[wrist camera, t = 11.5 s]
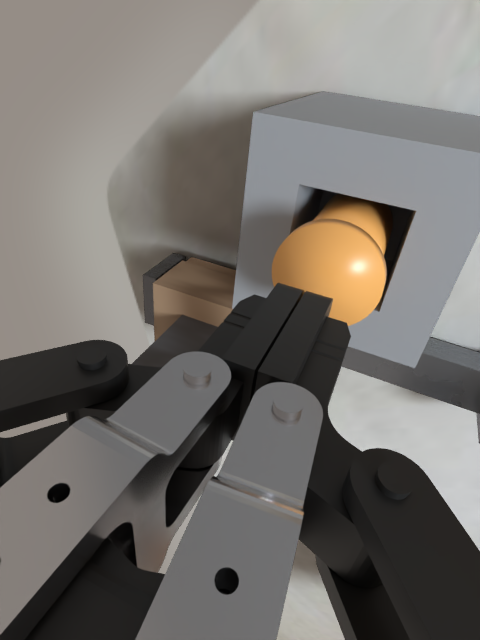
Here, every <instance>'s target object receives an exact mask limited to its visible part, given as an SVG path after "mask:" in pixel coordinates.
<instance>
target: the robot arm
mask: <svg viewBox="0 0 480 640" xmlns="http://www.w3.org/2000/svg"><path fill="white" fill-rule="evenodd" d="M332 302H333V298H329V297H326V296H322V295H319V294H316V293H312V292H309V291H306V292H305V291H304V290H302V289H298V288H295V287H292V286H288V285H285V284H281V283H277V284H276V286H275V287H274V288H273V290H272V291H271V292H270V294H269V295H268V296H267V298H265V297H261V296H258V295H255V294H254V295H252V296H250V297H248V298H245V299H243V300H241V301H239V303H238V304H237V305H236V306H235V307H234V309H233V310H232V311H231V313H230V314H229V315H228V316H227V317H226V318H225V319H224V322H222V323H221V324H220V325H219V327H218V328H217V329H216V330H215V331H214V333H213V334H212V335H211V336H210V337H209V338H208V340H207V341H206V342H205V343H204V344H203V346H202V347H201V348H200V349H199V350H198V352H187V353H183V354H180V355H178V356H176V357H174V358H173V359H171V360H170V361H169V362H168V363H167V364H166V365H165V366H164V367H150V366H141V365H132V364H128V360H127V354H126V352H125V351H124V349H123V348H122V347H121V346H119V345H118V344H115V343H113V342H110V341H105V340H90V341H84V342H80V343H76V344H71V345H67V346H62V347H58V348H53V349H49V350H44V351H40V352H36V353H31V354H27V355H22V356H18V357H13V358H9V359H4V360H1V361H0V432H3V431H6V430H10V429H13V428H16V427H20V426H23V425H26V424H30V423H33V422H37V421H40V420H44V419H47V418H50V417H53V416H57V415H60V414H64V413H66V416H67V421H65V422H61V423H58V424H54V425H51V426H48V427H44V428H41V429H38V430H34V431H31V432H28V433H24V434H21V435H18V436H14V437H11V438H0V640H276V639H277V635H278V630H279V625H280V621H281V616H282V612H283V607H284V603H285V598H286V594H287V589H288V584H289V580H290V575H291V571H292V566H293V562H294V557H295V553H296V548H297V543H298V539H299V540H300V541H301V542H302V543H304V544H305V545H306V546H307V547H308V548H309V549H310V550H311V551H312V552H313V553H314V554H316V563H317V567H318V570H319V572H320V575H321V578H322V580H323V583H324V586H325V588H326V591H327V593H328V596H329V599H330V601H331V604H332V607H333V609H334V612H335V614H336V617H337V620H338V622H339V625H340V627H341V630H342V633H343V635H344V638H345V640H480V551H479V550H478V548H477V547H476V545H475V544H474V542H473V541H472V539H471V538H470V537H469V535H468V534H467V532H466V531H465V529H464V528H463V526H462V525H461V524H460V522H459V521H458V519H457V518H456V516H455V515H454V514H453V512H452V511H451V509H450V508H449V506H448V505H447V503H446V502H445V501H444V499H443V498H442V496H441V495H440V493H439V492H438V490H437V489H436V488H435V486H434V485H433V483H432V482H431V480H430V479H429V477H428V476H427V475H426V474H425V472H424V471H423V470H422V469H421V468H420V467H419V466H418V465H417V464H416V463H414V462H413V461H412V460H411V459H409V458H407V457H406V456H404V455H402V454H400V453H398V452H395V451H392V450H388V449H381V448H375V449H369V450H365V451H363V452H362V451H360V450H359V449H357V448H356V447H354V446H353V445H352V444H350V443H349V442H348V441H346V440H345V439H344V438H343V437H342V436H341V435H340V434H339V433H338V432H337V431H336V430H335V428H334V427H333V425H332V423H331V421H330V419H329V416H328V405H329V402H330V399H331V396H332V393H333V390H334V387H335V384H336V381H337V378H338V375H339V372H340V369H341V366H342V362H343V359H344V356H345V353H346V350H347V347H348V344H349V341H350V338H351V335H350V332H349V328H348V325H347V323H346V322H343V321H340V320H336V319H333V318H330V317H329V314H330V310H331V307H332ZM231 440H234V441H233V443H232V445H231V448H230V450H229V452H228V455H227V457H226V459H225V461H224V464H223V466H222V468H221V470H220V472H219V474H218V476H217V477H215V476H214V474H215V473H216V471H217V470H218V468H219V466H220V464H221V459H222V455H223V453H224V452H225V450H226V448H227V446H228V445H229V443H230V441H231ZM201 494H202V495H201ZM200 496H201V497H200ZM199 497H200V500H199V502H198V504H197V506H196V509H195V511H194V513H193V515H192V517H191V519H190V521H189V524H188V526H187V528H186V530H185V533H184V534H183V537H182V539H181V541H180V543H179V545H178V548H177V550H176V552H175V554H174V556H173V558H172V561H171V563H170V565H169V567H168V569H167V572H166V574H161V573H158V572H159V570H160V568H161V566H162V564H163V561H164V559H165V556H166V553H167V550H168V547H169V545H170V543H171V541H172V538H173V537H174V535H175V533H176V532H177V530H178V529H179V527H180V526H181V524H182V523H183V521H184V519H185V518H186V517H187V515H188V514H189V512H190V511H191V509H192V508H193V506H194V505H195V503H196V502H197V500H198V499H199Z"/></svg>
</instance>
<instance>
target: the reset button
mask: <svg viewBox="0 0 480 640" xmlns="http://www.w3.org/2000/svg"><path fill="white" fill-rule="evenodd" d="M392 227H393V218H392V213H391V210H390V208H389V206H388V205H387V204H384V203H379V202H375V201H371V200H366V199H362V198H357V197H353V196H349V195H344V194H340V193H338V194H336V195H335V196H333V197H332V198H331V199H330V200H329V201H328V203H327V204H326V205H325V206H324V207H323V209H322V210H321V211H320V212H319V214H318V215H317V216H316V217H315V218H314V220H313V221H310V222H308V223H305V224H303V225H301V226H299V227H298V228H297V229H295V230H294V231H293V232H292V233H291V234H290V235H289V236H288V237H287V238H286V239H285V240H284V241H283V243H282V244H281V245H280V246H279V248H278V250H277V252H276V254H275V256H274V259H273V263H272V281H273V285H274V287H275V286H276V284H277V283H281V284H285V285H288V286H292V287H295V288H298V289H302V290H304V291H305V292H306V291H309V292H312V293H316V294H319V295H322V296H326V297H329V298H333V302H332V307H331V310H330V314H329V317H330V318H333V319H336V320H340V321H343V322H346V323H347V325H348V326H350V325H353V324H355V323H357V322H359V321H361V320H363V319H364V318H366V317H367V316H368V315H369V314H370V313H371V312H372V311H373V310H374V309H375V308H376V306H377V305H378V303H379V301H380V299H381V297H382V293H383V290H384V286H385V282H386V276H387V269H386V262H385V258H384V254H385V251H386V248H387V245H388V242H389V238H390V235H391V232H392Z"/></svg>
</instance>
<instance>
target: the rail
mask: <svg viewBox="0 0 480 640" xmlns="http://www.w3.org/2000/svg"><path fill="white" fill-rule="evenodd" d="M182 260H183V261H185V256H182V255H178V254H175V253H173V254H171V255H170V256H169V257H167V258H166V259H164V260H163V261H162V262H160V263H159V264H158V265H156V266H155V267H153V268H152V269H151V270H149V271H148V272H146V273H145V274H144V275H143V289H144V312H145V323H148V324H151V325H154V299H153V283H154V282H155V281H156V280H158V279H159V278H160V277H162V276H163V275H164V274H165V273H167V272H168V271H169V270H171V269H172V268H173V267H175V266H176V265H177V264H178V263H180V262H181V261H182ZM342 367H345V368H348V369H351V370H354V371H356V372H359V373H362V374H365V375H368V376H371V377H374V378H377V379H380V380H383V381H386V382H388V383H391V384H394V385H397V386H400V387H403V388H406V389H409V390H412V391H415V392H418V393H421V394H423V395H426V396H429V397H432V398H435V399H438V400H441V401H444V402H447V403H450V404H453V405H455V406H458V407H461V408H464V409H467V410H470V411H473V412H476V413H477V425H478V438H479V443H480V352H477V351H473V350H470V349H467V348H463V347H460V346H457V345H454V344H450V343H447V342H444V341H441V340H437V339H434V338H431V337H430V338H429V340H428V342H427V344H426V346H425V348H424V350H423V352H422V354H421V357H420V359H419V361H418V363H417V365H416V367H415V368H412V367H409V366H406V365H403V364H400V363H397V362H394V361H391V360H388V359H385V358H382V357H379V356H376V355H373V354H370V353H367V352H364V351H361V350H358V349H355V348H352V347H347V350H346V353H345V356H344V359H343V362H342Z"/></svg>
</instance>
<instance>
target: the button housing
mask: <svg viewBox="0 0 480 640" xmlns="http://www.w3.org/2000/svg"><path fill="white" fill-rule="evenodd" d="M338 193H340V194H344V195H349V196H353V197H357V198H362V199H366V200H371V201H375V202H379V203H384V204H387V205H388V206H389V208H390V210H391V213H392V218H393V227H392V232H391V235H390V238H389V242H388V245H387V248H386V251H385V254H384V258H385V262H386V269H387V276H386V282H385V286H384V290H383V293H382V297H381V299H380V301H379V303H378V305H377V306H376V308H375V309H374V310H373V311H372V312H371V313H370V314H369V315H368V316H367V317H366V318H364V319H363V320H361V321H359V322H357V323H355V324H353V325H350V326H348V328H349V332H350V335H351V338H350V341H349V344H348V347H352V348H355V349H358V350H361V351H364V352H367V353H370V354H373V355H376V356H379V357H382V358H385V359H388V360H391V361H394V362H397V363H400V364H403V365H406V366H409V367H412V368H415V367H416V365H417V363H418V361H419V359H420V357H421V354H422V352H423V350H424V348H425V346H426V344H427V342H428V340H429V338H430V335H431V333H432V331H433V329H434V327H435V325H436V323H437V321H438V319H439V316H440V314H441V312H442V310H443V308H444V306H445V304H446V302H447V300H448V297H449V295H450V293H451V291H452V289H453V287H454V285H455V283H456V281H457V278H458V276H459V274H460V272H461V270H462V268H463V266H464V264H465V262H466V259H467V257H468V255H469V253H470V251H471V249H472V247H473V245H474V243H475V240H476V238H477V236H478V234H479V232H480V116H475V115H469V114H463V113H456V112H450V111H444V110H438V109H431V108H425V107H419V106H412V105H406V104H400V103H394V102H387V101H381V100H375V99H369V98H362V97H356V96H350V95H343V94H337V93H331V92H325V91H323V92H319V93H316V94H313V95H309V96H306V97H302V98H299V99H295V100H292V101H288V102H285V103H282V104H278V105H275V106H271V107H268V108H264V109H261V110H257V111H254V112H253V119H252V128H251V137H250V147H249V156H248V165H247V174H246V184H245V193H244V202H243V211H242V221H241V230H240V239H239V248H238V258H237V267H236V276H235V286H234V295H233V304H232V308H233V309H234V307H235V306H236V305H237V304H238V303H239V301H241V300H243V299H245V298H248V297H250V296H252V295H254V294H255V295H258V296H261V297H265V298H267V296H268V295H269V294H270V292H271V291H272V290H273V288H274V285H273V281H272V263H273V259H274V256H275V254H276V252H277V250H278V248H279V246H280V245H281V244H282V243H283V241H284V240H285V239H286V238H287V237H288V236H289V235H290V234H291V233H292V232H293V231H294V230H295V229H297V228H298V227H299V226H301V225H303V224H305V223H308V222H310V221H313V220H314V218H315V217H316V216H317V215H318V214H319V212H320V211H321V210H322V209H323V207H324V206H325V205H326V204H327V203H328V201H329V200H330V199H331V198H332V197H333V196H335V195H336V194H338Z"/></svg>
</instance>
